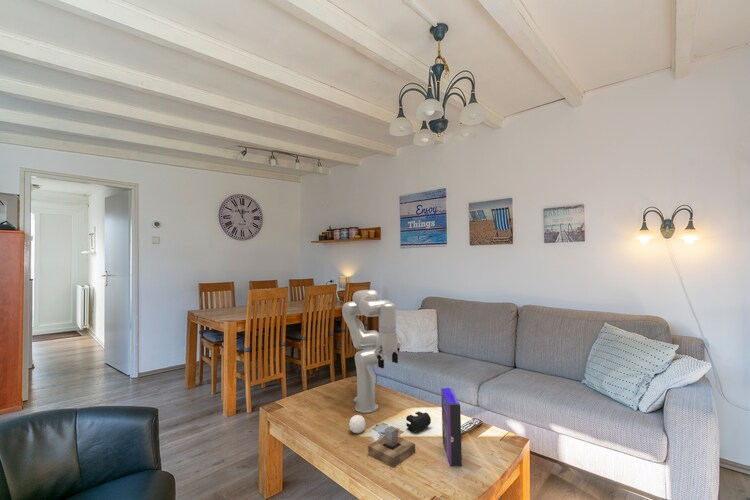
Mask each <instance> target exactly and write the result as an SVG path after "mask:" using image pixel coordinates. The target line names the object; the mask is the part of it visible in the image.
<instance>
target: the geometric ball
mask: <svg viewBox="0 0 750 500" xmlns="http://www.w3.org/2000/svg"><path fill="white" fill-rule="evenodd" d="M348 426H349V429H350V430H351V432H352V433H354V434H359V433H362V432H363V431H364V430H365V428H366V419H365V418H364V417H363V416H362V415H360V414H355V415H353V416H352V417H351V418H350V419H349V425H348Z"/></svg>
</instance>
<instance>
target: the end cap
mask: <svg viewBox="0 0 750 500" xmlns="http://www.w3.org/2000/svg"><path fill="white" fill-rule="evenodd" d="M405 419H406V421H407V422H405V423H406V427H407V428H406V430H407V431H409V432H410V433H413V434H414V433H416V432H418V431H421V430H423V429H424V428H427V427H429V426H430V425H431V423H432V419H431V416H430V415H429V413H428V412H427V411H426V412H422V411H416V412H415V415H412V414H409V415H407V416H406V418H405Z"/></svg>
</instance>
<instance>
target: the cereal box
mask: <svg viewBox="0 0 750 500" xmlns="http://www.w3.org/2000/svg"><path fill="white" fill-rule="evenodd" d="M440 391H441V392H440V393H441V425H442V426H441V431H442V434H441V435H442V444H443V449H444V452H445V455H446V458H447V461H448V466H449V467H463V462H462V461H463V459H462V458H463V457H462V456H463V455H462V454H463V452H462V424H461V423H462V422H461V421H462V419H461V417H462V416H461V415H462V414H461V404H460V402H459V400H458V398H457V396H456V394H455V392H454V389H453V388H451V387H443V388H440Z"/></svg>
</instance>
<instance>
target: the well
mask: <svg viewBox="0 0 750 500" xmlns="http://www.w3.org/2000/svg"><path fill="white" fill-rule="evenodd" d="M367 446H368V447H367V448H368V449H367V451H368V454H367V455H369V456H371V457H373V458H375V459H377V460H379V461H381V462H383V463H385V464H387V465H389V466H391V467H393V468H395V467H396V466H397V465H399V464H401V463H403V462H404V461H405V460H406V459H407V458H409V457H410V456H412V455H413V454H415V453H416V443H414V442H412V441H409V440H407V439H405V438H402V437H400V436H398V447H397V448H395V449H394V450H391V449H389V448H387V447H385V435H384V436H382V437H381V438H379V439H377V440H376V441H374V442H372V443H370V444H369V445H367Z"/></svg>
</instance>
